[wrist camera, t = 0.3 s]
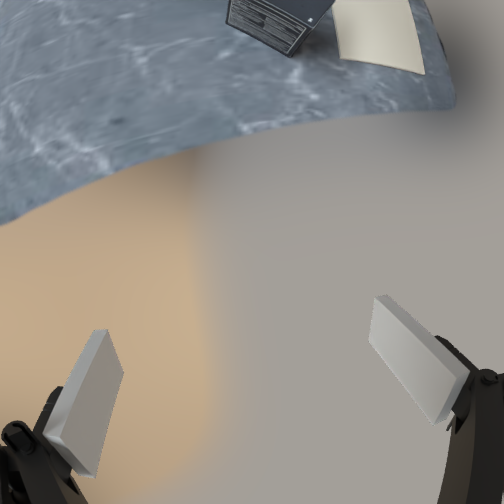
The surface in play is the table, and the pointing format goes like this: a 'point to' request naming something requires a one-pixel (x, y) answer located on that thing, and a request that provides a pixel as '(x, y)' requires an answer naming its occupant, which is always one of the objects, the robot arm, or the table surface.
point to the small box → (277, 20)
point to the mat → (378, 33)
